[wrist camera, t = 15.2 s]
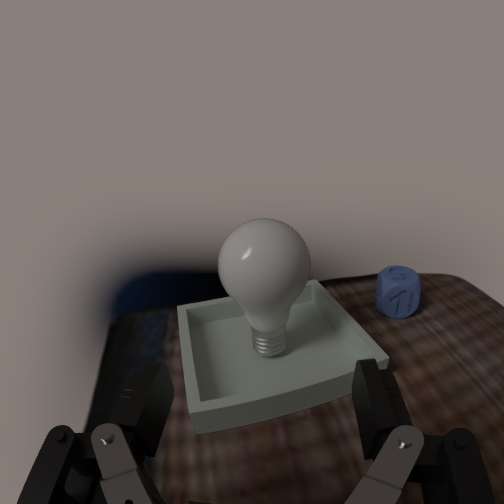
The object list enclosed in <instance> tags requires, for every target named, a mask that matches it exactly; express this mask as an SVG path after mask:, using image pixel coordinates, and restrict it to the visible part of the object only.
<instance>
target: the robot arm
mask: <svg viewBox="0 0 504 504" xmlns="http://www.w3.org/2000/svg"><path fill="white" fill-rule="evenodd" d="M173 398H174V386H173V383H172V381H171V378H170V375H169V372H168V369H167V366H166V364H165V363H162V362H149V361H148V362H147V363H146V364H145V366H144V369H143V371H142V372H136V373H135V374H134V375H133V376H132V377H131V378H130V379H129V380H128V382H127V384H126V386H125V390H123V392H122V394H121V397H120V398H119V400H118V402H117V404H116V406H115V409H114V411H113V413H112V415H111V417H110V419H109V421H108V423H106V424H102V425H100V426H98V427H97V428H96V429H95V430H94V431H93V432H90V433H74V432H73V430H72V429H71V428H70V427H68V426H66V425H60V426H56V427H54V428H53V429H52V430H50V432H49V433H48V435H47V437H46V439H45V441H44V443H43V445H42V447H41V449H40V451H39V454H38V456H37V458H36V460H35V462H34V464H33V466H32V469H31V471H30V473H29V476H28V478H27V480H26V482H25V485H24V487H23V489H22V492H21V494H20V497H19V499H18V502H17V504H92V501H93V498H94V494H95V491H96V488H97V485H98V482H99V479H100V476H103V479H102V480H101V481H100V483H101V487H102V490H103V492H104V495H105V498H106V500H107V503H108V504H166V502H165V501H164V500H163V498H162V496H161V495H160V493H159V491H158V489H157V487H156V486H155V484H154V482H153V480H152V478H151V476H150V474H149V472H148V470H147V468H146V466H145V464H144V459H145V456H151V457H155V454H156V451H157V448H158V445H159V441H160V438H161V435H162V432H163V429H164V426H165V423H166V420H167V417H168V414H169V411H170V408H171V405H172V402H173ZM352 399H353V404H354V409H355V413H356V418H357V423H358V428H359V433H360V438H361V443H362V448H363V453H364V459H365V460H368V459H373V464H372V465H371V467H370V468H369V470H368V471H367V473H366V474H365V475H364V477H363V478H362V479H361V481H360V482H359V484H358V485H357V487H356V488H355V489H354V491H353V492H352V494H351V495H350V496H349V498H348V499H347V501H346V502H345V503H344V504H395V503H396V502H397V500H398V498H399V496H400V494H401V492H402V488H403V486H404V484H405V482H418V483H421V487H422V493H423V498H424V504H495V500H494V497H493V493H492V489H491V486H490V482H489V479H488V475H487V472H486V469H485V466H484V462H483V459H482V456H481V453H480V451H479V448H478V445H477V442H476V439H475V437H474V435H473V434H472V433H471V432H470V431H469V430H467V429H464V428H455V429H453V430H451V431H449V432H448V433H447V435H446V436H433V435H425V434H422V432H421V431H420V430H419V429H417V428H416V427H414V426H413V425H412V423H411V420H410V417H409V414H408V411H407V408H406V406H405V403H404V400H403V397H402V396H401V392H400V389H399V388H398V384H397V381H396V379H395V376H394V375H393V374H392V373H391V372H390V371H389V370H388V369H382V370H379V367H378V364H377V362H376V359H375V358H372V359H363V360H357V362H356V366H355V371H354V376H353V381H352ZM189 504H210V503H201V502H193V501H189Z"/></svg>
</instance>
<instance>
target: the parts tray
mask: <svg viewBox="0 0 504 504" xmlns="http://www.w3.org/2000/svg"><path fill="white" fill-rule="evenodd" d="M177 310H178V322H179V333H180V343H181V353H182V362H183V371H184V379H185V387H186V394H187V402H188V409H189V414H190V417H191V420H192V422H193V425H194V427H195V430H196V433H197V435H198V434H204V433H210V432H215V431H221V430H226V429H231V428H236V427H240V426H245V425H249V424H253V423H258V422H262V421H266V420H270V419H273V418H277V417H281V416H284V415H288V414H291V413H295V412H298V411H302V410H305V409H308V408H311V407H314V406H318V405H321V404H324V403H327V402H329V401H332V400H335V399H338V398H341V397H344V396H346V395H349V394H352V381H353V376H354V371H355V366H356V362H357V360H363V359H372V358H375V359H376V362H377V364H378V367H379V370H382V369H387V365H388V361H389V358H390V357H389V356H388V355H387V354H386V353H385V352H384V351H383V350H382V349H381V348H380V347H379V346H378V344H377V343H376V342H375V341H374V340H373V339H372V338H371V337H370V336H369V335H368V334H367V333H366V332H365V331H364V329H363V328H362V327H361V326H360V325H359V324H358V323H357V322H356V321H355V320H354V319H353V318H352V317H351V316H350V315H349V314H348V313H347V311H346V310H345V309H344V308H343V307H342V306H341V305H340V304H339V303H338V302H337V301H336V300H335V299H334V298H333V297H332V296H331V295H330V294H329V293H328V292H327V291H326V290H325V288H324V287H323V286H322V285H321V284H320V283H319V282H318V281H317V280H311V281H308V282H307V284H306V286H305V288H304V290H303V291H302V293H301V294H300V296H299V297H298V298H297V299H296V301H295V302H294V303H293V305H292V306H291V310H290V314H289V318H288V320H287V322H286V347H285V349H284V350H283V351H282V352H281V353H279V354H277V355H273V356H264V355H260V354H258V353H257V352H255V350H254V349H253V343H252V333H251V332H252V331H251V325H250V324H249V323H248V321H247V319H246V316H245V314H244V311H243V309H242V308H241V307H240V306H239V305H238V304H237V303H236V302H235V301H234V300H233V299H232V298H231V297H226V298H221V299H215V300H210V301H204V302H198V303H193V304H187V305H181V306H177Z"/></svg>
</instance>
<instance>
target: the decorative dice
mask: <svg viewBox="0 0 504 504" xmlns="http://www.w3.org/2000/svg"><path fill="white" fill-rule="evenodd" d="M420 295H421V284H420V278H419V275H418V274H417V273H416V272H415V271H414V270H412V269H410V268H408V267H404V266H389V267H386V268H384V269H383V270H382V271H381V272H380V273H379V274H378V278H377V286H376V307H377V310H378V311H379V312H380V313H381V314H382V315H384V316H386V317H389V318H393V319H402V318H406V317H408V316H410V315H411V314H413V313H414V312H415V311H416V310H417V308H418V306H419V302H420Z"/></svg>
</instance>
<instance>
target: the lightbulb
mask: <svg viewBox="0 0 504 504" xmlns="http://www.w3.org/2000/svg"><path fill="white" fill-rule="evenodd" d="M310 268H311V262H310V255H309V251H308V248H307V246H306V243H305V242H304V240H303V238H302V237H301V236H300V235H299V234H298V232H296V231H295V230H294V229H293V228H292V227H290V226H289V225H287V224H285V223H283V222H281V221H278V220H274V219H255V220H251V221H248V222H246V223H243V224H242V225H240V226H238V227H237V228H236V229H234V230H233V231H232V232H231V233H230V234H229V235H228V237H227V238H226V240H225V241H224V243H223V245H222V247H221V250H220V253H219V259H218V272H219V277H220V280H221V282H222V285H223V287H224V288H225V290H226V292H227V293H228V294H229V296H230V297H231V298H232V299H233V300H234V301H235V302H236V303H237V304H238V305H239V306H240V307H241V308H242V309H243V311H244V314H245V316H246V319H247V321H248V323H249V324H250V325H251V331H252V332H251V333H252V343H253V349H254V350H255V352H257V353H258V354H260V355H264V356H273V355H277V354H279V353H281V352H282V351H283V350H284V349H285V347H286V322H287V320H288V318H289V314H290V310H291V306H292V305H293V303H294V302H295V301H296V299H297V298H298V297H299V296H300V294H301V293H302V291H303V290H304V288H305V286H306V284H307V282H308V279H309V275H310Z"/></svg>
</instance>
